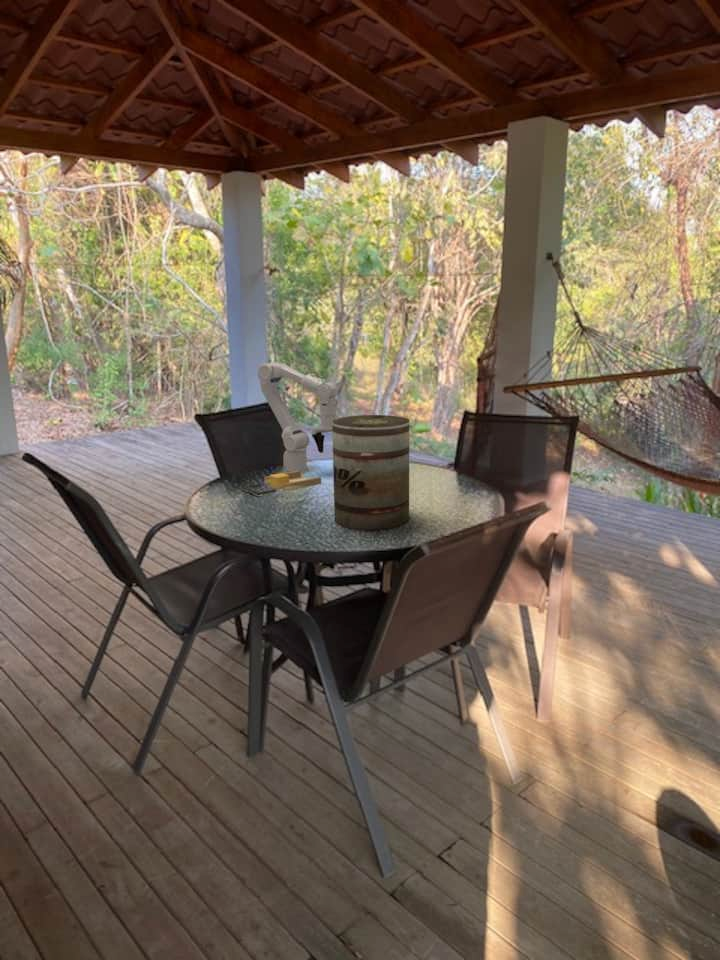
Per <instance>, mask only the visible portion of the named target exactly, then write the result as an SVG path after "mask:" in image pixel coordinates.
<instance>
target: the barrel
mask: <svg viewBox="0 0 720 960" xmlns="http://www.w3.org/2000/svg"><path fill="white" fill-rule="evenodd" d="M331 433H332V434H331V435H332V466H333V467H332V469H333V473H332V474H333V500H334V501H333V503H334V504H333V507H334V508H333V509H334V522H335V524H336V523H337V524H338V526H339V525H340V526H339V527H341V526H342V527H341V528H343V527H345V528H344V529H346V528H349V529H348V530H351V529H354V530H353V531H356V530H364V531H363V532H381V531H380V530H385V531H389V529H391V530H395V529H394V528H396V529H399V528H401V527H400V526H402V527H404V526H406V525H407V524H408V523H409V522H410V419H408V418H406V417H402V416H396V415H388V414H387V415H386V414H364V415H363V414H361V415H350V416H343V417H342V416H341V417H339V418H336V419H335V420H333V421H332V432H331ZM408 521H409V522H408ZM407 522H408V523H407ZM406 523H407V524H406ZM337 524H336V525H337ZM405 524H406V525H405ZM403 525H404V526H403ZM398 527H399V528H398Z"/></svg>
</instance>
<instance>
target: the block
mask: <svg viewBox="0 0 720 960" xmlns="http://www.w3.org/2000/svg"><path fill="white" fill-rule="evenodd" d="M269 476H270V483H269V486H270V487H272V488H273V489H274V488H275V489H284V484H286V483H290V482H289V475H286V474H284V473H282V472H280V473H275V474H269Z"/></svg>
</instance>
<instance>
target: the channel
mask: <svg viewBox="0 0 720 960" xmlns="http://www.w3.org/2000/svg"><path fill="white" fill-rule="evenodd" d="M283 474H286V475H289V483H286V484H284V487H283V491H285V492H286V491H293V490H296V489H297V490H298V489H301V488H306V487H313V486H316V485H321V484H322V478H321V477H320V476H317V477H311V478H306V477H304V476H302V475H301V474H302V473H301V471H294V472H285V473H283ZM263 480H264V484H265V485H266V484H270V475H268V476H264V479H263Z"/></svg>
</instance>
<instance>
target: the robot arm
mask: <svg viewBox="0 0 720 960" xmlns="http://www.w3.org/2000/svg"><path fill="white" fill-rule="evenodd" d="M256 375H257V377H258V379H259V381H260V382H259V383H260V389H261V392H262V394H263V396H264V397H265V400H266V402H267V403H268V406H270V409H271V411H272V412H273V414H274V417H275V418H276V420H277V422H278V423H279V426H280V427H281V429H282V433H281V438H282V440H283V446H284V447H285V449H286V450H284V452H283V460H282V461H283V471H287V473H289V472H294V471H301V474H303V473H306V472H308V463H307V462H308V459H307V457H308V456H307V449H308V448H307V447H308V446H309V444H310V436H309V434H308V433H307V432H305V431H304V430H303V428H302V427H301V426H299V425H298V424H297V423H296V422H295V420H294V418H293V415H292V414H291V412H290V410H289V409H288V407H287V406H286V404H285V402H284V399H283V398H282V396H281V394H280V392H279V391H278V385H279V383H280V381H281V380H282V379H283V377H285V378H287V379H289V380H292V381H294V382H297V383H300V384H301V385H302V386H301V387H302V388H303V389H304V390H307V391H310V392H312V393H313V394H316V395H317V397H318V398H319V399H318V400H319V405H320V407H319V409H320V413H319V414H320V426H317V427H313V428H310V433H311V437H312V439H313V440H314V442H315V444H316V446H317V447H316V448H317V451H318V453H321V454H323V453H324V444H325V443H324V442H325V437H326V435H324V434H323V433H332V421H333V420H335V419H337V417H336V416H337V408H336V406H337V405H336V404H337V403H336V396H337V395H338V393H339V387H338V385H337V384H336V383H334V382H333V381H327V380H326V379H325V378H323V379H322V378H319V377H317V376H316V374H315V373H311V374H310V373H308V374H303V373H302V372H300V371H298V370H295V369H294V368H292V367H291V366H288V365H287V364H286V363H283V362H280V361H274V362H268V363H267V362H265V363H261V364H260V365H259V367H258V370H257V373H256Z"/></svg>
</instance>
